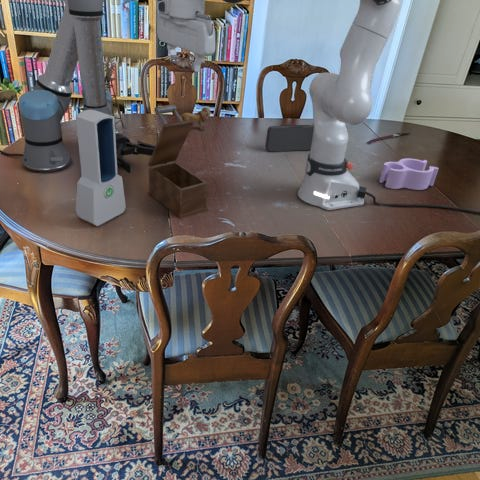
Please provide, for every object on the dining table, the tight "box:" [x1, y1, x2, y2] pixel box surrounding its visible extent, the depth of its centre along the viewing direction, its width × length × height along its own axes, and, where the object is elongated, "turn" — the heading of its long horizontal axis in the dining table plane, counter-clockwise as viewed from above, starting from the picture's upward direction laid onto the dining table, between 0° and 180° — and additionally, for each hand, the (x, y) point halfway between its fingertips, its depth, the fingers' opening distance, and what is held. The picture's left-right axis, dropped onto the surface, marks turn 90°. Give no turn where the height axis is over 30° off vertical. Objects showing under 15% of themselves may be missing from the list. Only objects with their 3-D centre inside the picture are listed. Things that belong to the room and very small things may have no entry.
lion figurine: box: [178, 106, 211, 131], centre depth 199 cm, size 15×5×9 cm, turn 110°
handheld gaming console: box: [264, 124, 314, 152], centre depth 189 cm, size 23×3×10 cm, turn 108°
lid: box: [147, 104, 194, 168], centre depth 140 cm, size 18×10×9 cm
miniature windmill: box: [104, 52, 125, 130], centre depth 184 cm, size 9×8×30 cm
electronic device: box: [75, 110, 127, 227], centre depth 126 cm, size 12×8×30 cm, turn 148°
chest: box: [148, 161, 208, 218], centre depth 143 cm, size 18×10×9 cm, turn 40°
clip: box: [378, 157, 439, 191], centre depth 172 cm, size 20×12×7 cm, turn 109°
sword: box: [367, 132, 410, 144], centre depth 214 cm, size 31×3×1 cm, turn 126°
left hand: (148, 164), depth 152 cm, fingers open, 13 cm apart
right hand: (184, 66), depth 123 cm, fingers open, 8 cm apart
